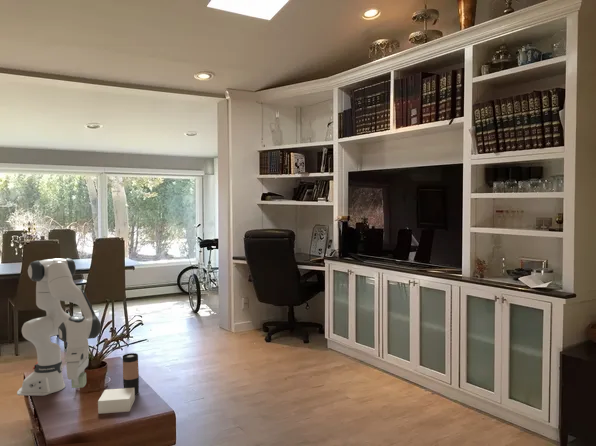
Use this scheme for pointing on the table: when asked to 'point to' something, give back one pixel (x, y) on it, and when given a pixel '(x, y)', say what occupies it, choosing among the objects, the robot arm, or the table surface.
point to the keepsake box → (116, 400)
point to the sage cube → (80, 381)
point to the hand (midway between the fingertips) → (79, 382)
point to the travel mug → (131, 371)
